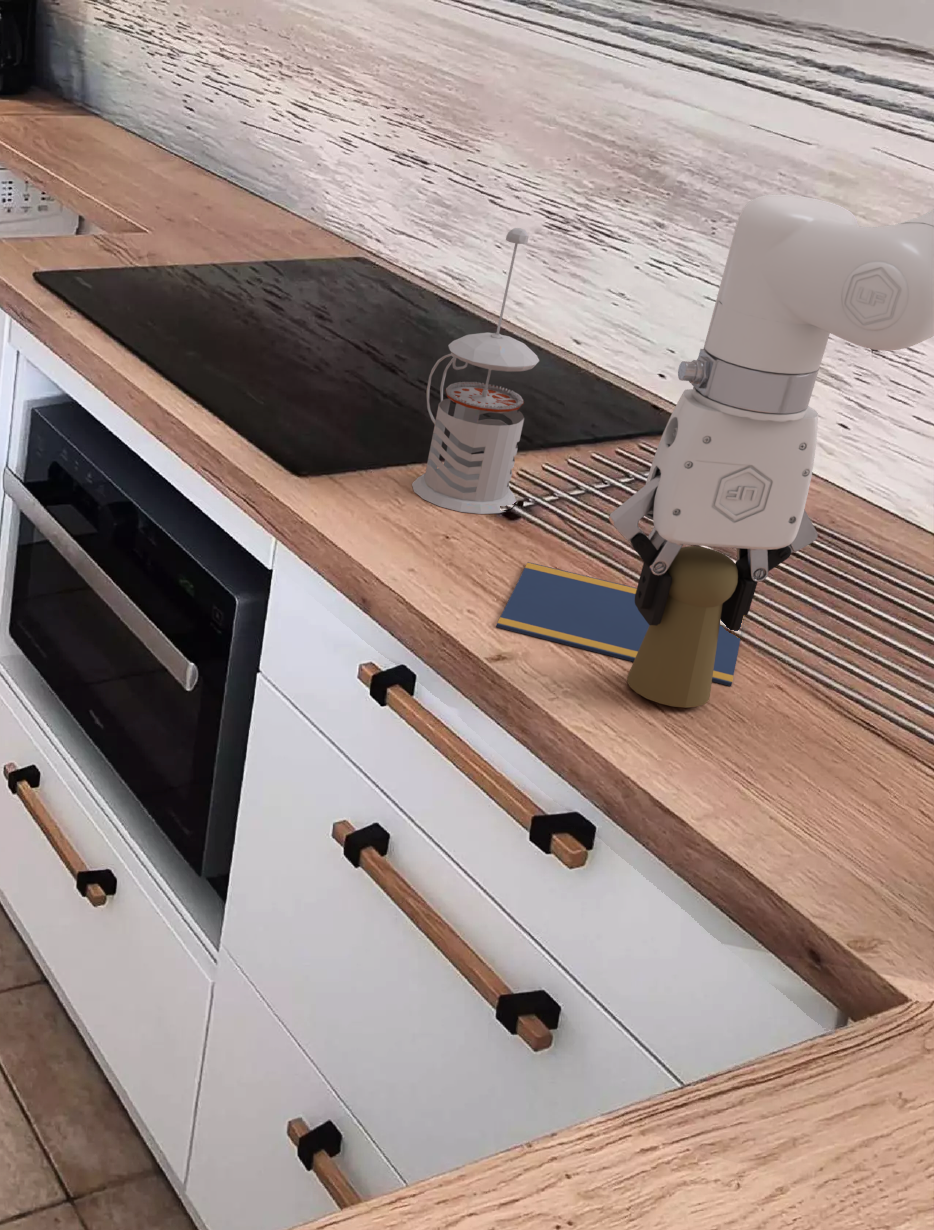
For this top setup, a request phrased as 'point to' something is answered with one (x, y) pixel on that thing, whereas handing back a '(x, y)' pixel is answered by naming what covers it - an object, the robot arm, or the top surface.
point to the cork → (685, 631)
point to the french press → (477, 423)
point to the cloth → (591, 616)
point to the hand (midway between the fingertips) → (687, 617)
